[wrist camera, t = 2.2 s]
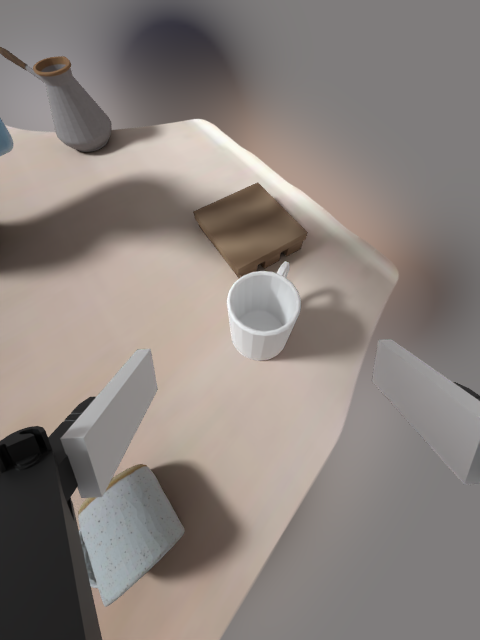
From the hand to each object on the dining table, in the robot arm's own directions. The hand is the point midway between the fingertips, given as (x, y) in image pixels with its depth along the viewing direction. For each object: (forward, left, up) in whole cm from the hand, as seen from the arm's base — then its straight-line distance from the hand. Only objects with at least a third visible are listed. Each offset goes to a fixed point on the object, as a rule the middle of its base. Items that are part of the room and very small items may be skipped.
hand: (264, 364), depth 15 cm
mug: (-9, +8, -20) cm, 23 cm away
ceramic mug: (+4, -18, -20) cm, 27 cm away
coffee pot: (-71, -2, -20) cm, 73 cm away
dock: (-24, +15, -19) cm, 34 cm away
